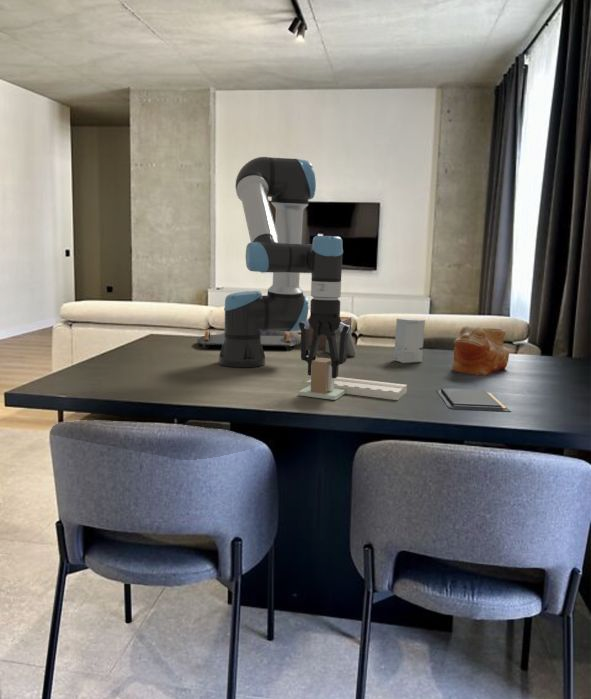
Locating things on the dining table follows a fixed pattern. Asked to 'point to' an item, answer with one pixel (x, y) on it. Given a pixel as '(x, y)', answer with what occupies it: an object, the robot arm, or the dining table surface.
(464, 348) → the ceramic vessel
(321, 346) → the tissue box cover
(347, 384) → the pad
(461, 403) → the wallet
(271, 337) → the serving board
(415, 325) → the skincare box
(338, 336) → the digital clock
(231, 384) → the dining table surface
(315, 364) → the stub
